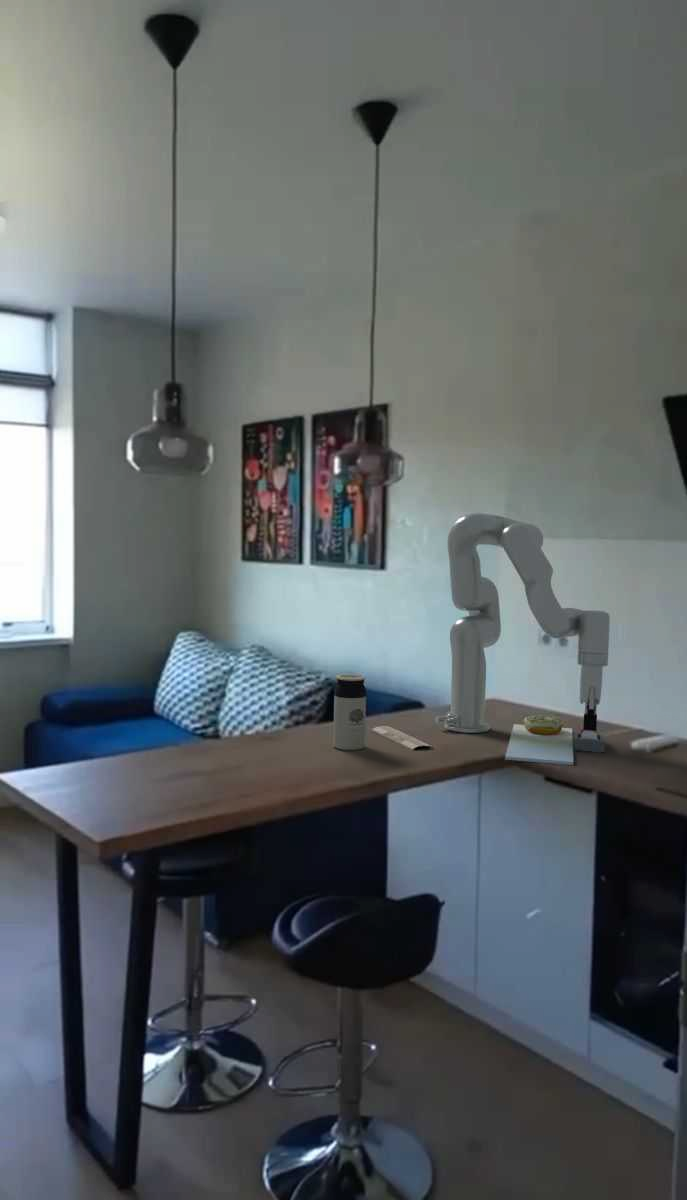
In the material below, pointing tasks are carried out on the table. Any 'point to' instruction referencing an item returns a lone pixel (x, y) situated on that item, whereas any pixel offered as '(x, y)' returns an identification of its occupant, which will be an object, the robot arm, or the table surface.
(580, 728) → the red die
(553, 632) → the robot arm
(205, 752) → the table surface
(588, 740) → the dome collar
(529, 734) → the white flat board
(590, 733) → the dome button
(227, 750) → the table surface
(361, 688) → the travel mug
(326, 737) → the table surface
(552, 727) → the decorated donut
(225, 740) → the table surface
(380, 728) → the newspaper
